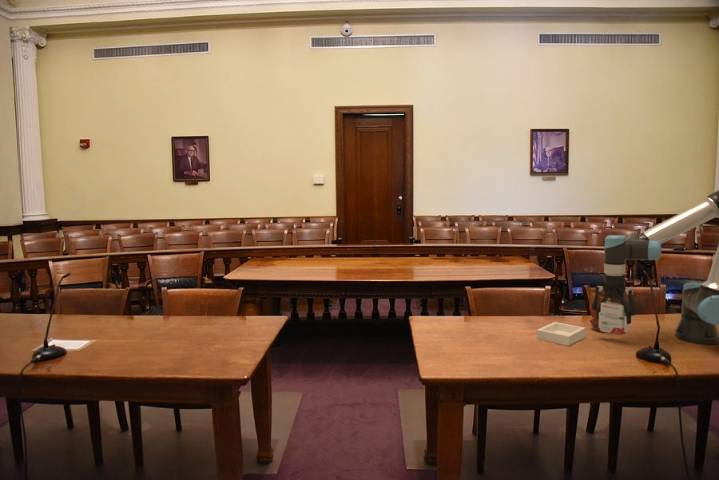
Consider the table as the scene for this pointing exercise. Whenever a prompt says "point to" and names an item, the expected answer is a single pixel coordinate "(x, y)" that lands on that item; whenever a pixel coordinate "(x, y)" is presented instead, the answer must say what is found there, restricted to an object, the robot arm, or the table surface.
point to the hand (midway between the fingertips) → (613, 329)
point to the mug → (593, 313)
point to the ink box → (612, 318)
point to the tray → (561, 333)
